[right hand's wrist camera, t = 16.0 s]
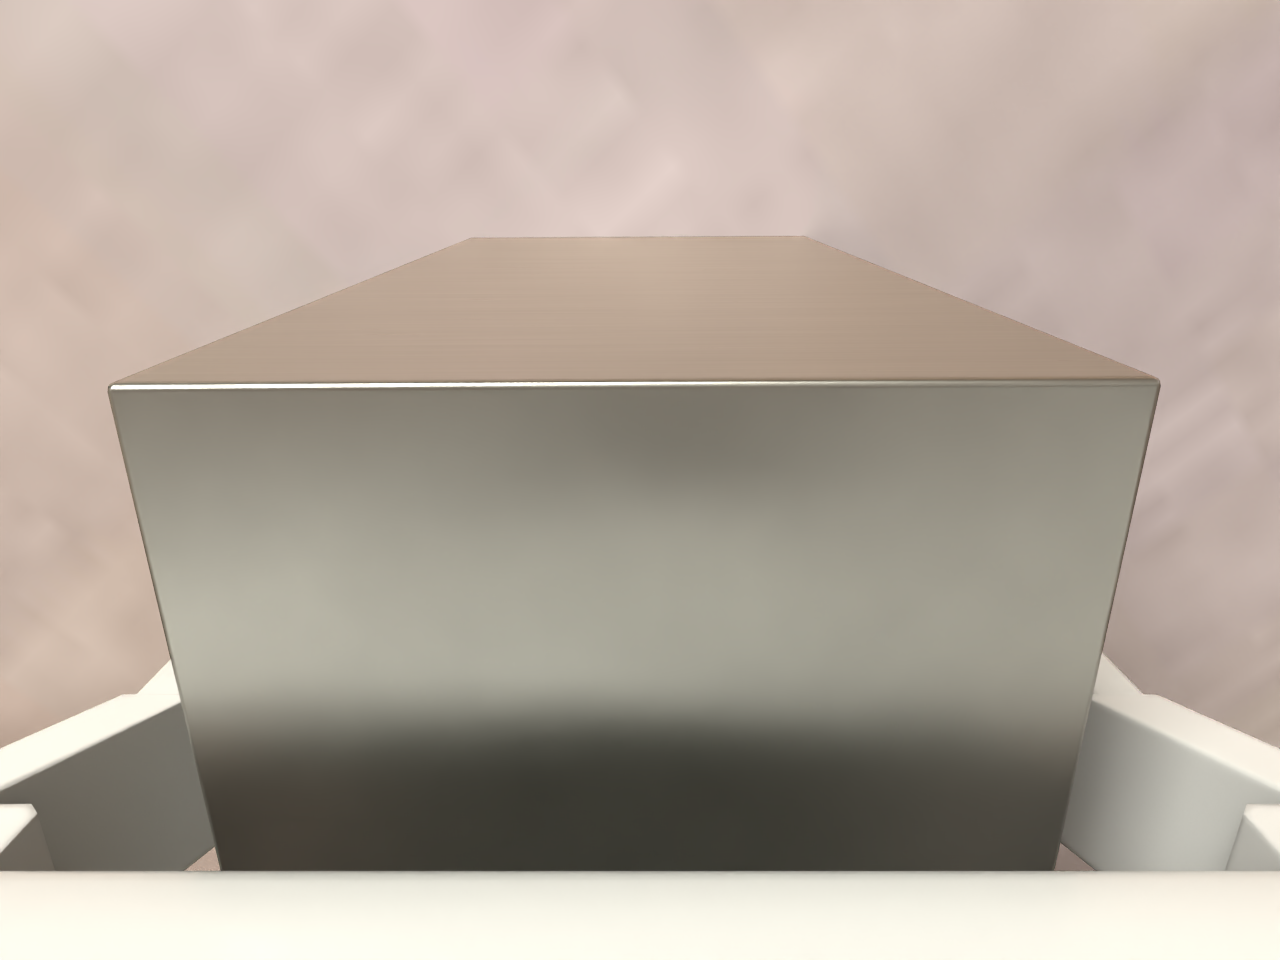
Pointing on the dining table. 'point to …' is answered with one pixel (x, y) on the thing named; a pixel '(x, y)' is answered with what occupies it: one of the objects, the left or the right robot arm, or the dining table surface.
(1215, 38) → the dining table surface
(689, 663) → the box
